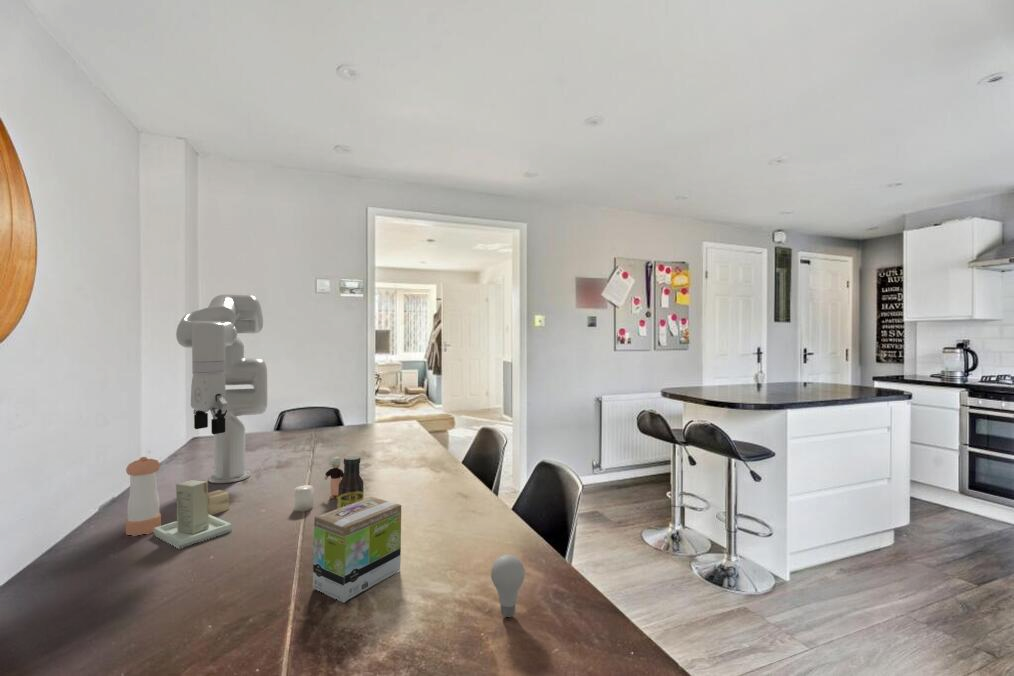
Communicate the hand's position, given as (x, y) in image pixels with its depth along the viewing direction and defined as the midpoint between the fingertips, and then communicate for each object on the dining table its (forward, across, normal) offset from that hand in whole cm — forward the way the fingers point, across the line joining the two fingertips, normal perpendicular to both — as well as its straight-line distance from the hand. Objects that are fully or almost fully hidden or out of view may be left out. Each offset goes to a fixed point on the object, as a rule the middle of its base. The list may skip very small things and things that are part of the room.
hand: (209, 430), depth 126 cm
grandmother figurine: (+26, +12, +31) cm, 42 cm away
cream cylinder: (+25, +12, +20) cm, 34 cm away
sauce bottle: (+24, +39, +15) cm, 49 cm away
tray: (+25, +4, -6) cm, 26 cm away
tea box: (+24, +58, +3) cm, 63 cm away
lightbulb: (+23, +91, +9) cm, 94 cm away
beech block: (+26, -8, +5) cm, 27 cm away
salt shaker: (+25, -8, -12) cm, 29 cm away
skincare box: (+24, +4, -6) cm, 25 cm away
